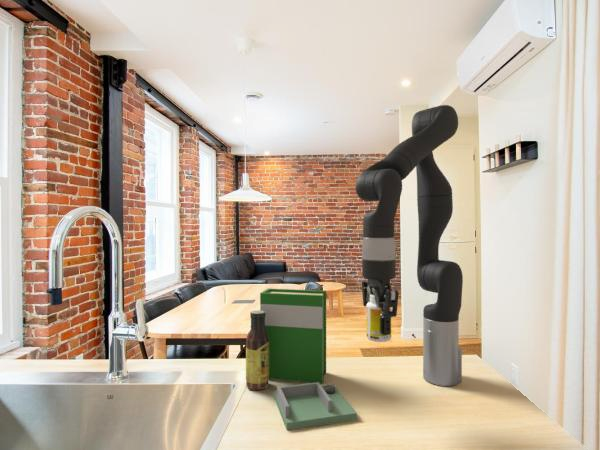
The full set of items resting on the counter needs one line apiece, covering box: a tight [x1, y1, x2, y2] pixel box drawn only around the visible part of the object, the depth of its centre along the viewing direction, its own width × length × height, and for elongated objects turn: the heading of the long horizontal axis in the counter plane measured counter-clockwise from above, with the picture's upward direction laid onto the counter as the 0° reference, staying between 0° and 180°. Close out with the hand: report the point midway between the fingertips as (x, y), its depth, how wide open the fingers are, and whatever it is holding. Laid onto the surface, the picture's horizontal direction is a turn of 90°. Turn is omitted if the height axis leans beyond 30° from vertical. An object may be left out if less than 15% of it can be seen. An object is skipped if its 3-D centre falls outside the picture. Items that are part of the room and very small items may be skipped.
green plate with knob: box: [273, 382, 358, 431], centre depth 88 cm, size 16×15×4 cm
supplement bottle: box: [365, 294, 392, 343], centre depth 85 cm, size 6×6×10 cm
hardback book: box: [259, 288, 327, 385], centre depth 106 cm, size 18×7×24 cm, turn 78°
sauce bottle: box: [245, 309, 270, 391], centre depth 99 cm, size 7×6×20 cm
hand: (378, 330), depth 85 cm, fingers closed on supplement bottle, 5 cm apart
